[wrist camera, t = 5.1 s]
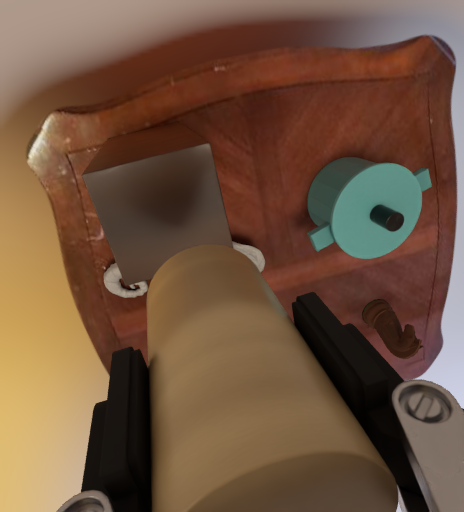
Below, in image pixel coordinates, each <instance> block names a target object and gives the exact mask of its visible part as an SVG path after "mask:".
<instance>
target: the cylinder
mask: <svg viewBox="0 0 464 512" xmlns="http://www.w3.org/2000/svg"><path fill="white" fill-rule="evenodd" d="M147 334H148V374H149V414H150V453H151V493H152V512H396V509H397V505H398V488H397V484H396V481H395V478H394V476H393V474H392V473H391V471H390V469H389V468H388V466H387V465H386V463H385V462H384V460H383V459H382V457H381V456H380V454H379V453H378V451H377V449H376V448H375V446H374V445H373V443H372V442H371V440H370V439H369V437H368V436H367V434H366V433H365V431H364V430H363V428H362V427H361V425H360V424H359V422H358V421H357V419H356V417H355V416H354V414H353V413H352V411H351V410H350V408H349V407H348V405H347V404H346V402H345V401H344V399H343V398H342V396H341V395H340V393H339V392H338V390H337V389H336V387H335V386H334V384H333V382H332V381H331V379H330V378H329V376H328V375H327V373H326V372H325V370H324V369H323V367H322V366H321V364H320V363H319V361H318V360H317V358H316V357H315V355H314V354H313V352H312V350H311V349H310V347H309V346H308V344H307V343H306V341H305V340H304V338H303V337H302V335H301V334H300V332H299V331H298V329H297V328H296V326H295V325H294V323H293V322H292V320H291V318H290V317H289V315H288V314H287V312H286V311H285V309H284V308H283V306H282V305H281V303H280V302H279V300H278V299H277V297H276V296H275V294H274V293H273V291H272V290H271V288H270V286H269V285H268V283H267V282H266V280H265V279H264V277H263V276H262V274H261V273H260V271H259V270H258V268H257V267H256V265H255V264H254V263H253V262H252V260H251V259H249V258H248V257H247V256H246V255H244V254H243V253H241V252H240V251H238V250H235V249H233V248H230V247H227V246H222V245H200V246H195V247H192V248H189V249H186V250H184V251H181V252H179V253H177V254H176V255H174V256H173V257H171V258H170V259H169V260H167V261H166V262H165V263H164V264H163V265H162V266H161V267H160V268H159V269H158V271H157V272H156V274H155V275H154V277H153V279H152V281H151V283H150V286H149V289H148V293H147Z"/></svg>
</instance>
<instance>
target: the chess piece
mask: <svg viewBox="0 0 464 512" xmlns="http://www.w3.org/2000/svg"><path fill="white" fill-rule="evenodd" d="M363 319H364V321H365V322H366V323H367V324H368V325H369V326H371V327H373V328H375V329H376V330H377V332H378V334H379V335H380V337H381V338H382V340H383V342H384V343H385V345H386V347H387V348H388V349H389V351H390V352H391V353H392V354H393V355H395V356H397V357H399V358H402V359H408V358H410V357H412V356H414V355H415V354H416V353H417V352H418V350H419V349H420V348H423V346H421V340H420V339H417V338H416V336H415V331H414V326H412V325H409V324H407V325H405V329H404V332H402V328H401V325H400V322H399V320H398V318H397V316H396V315H395V313H394V312H393V310H392V308H391V307H390V306H389V304H388V303H387V302H385V301H383V300H375V301H373V302H371V303H369V304H368V305H367V306H366V308H365V309H364V312H363Z"/></svg>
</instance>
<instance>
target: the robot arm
mask: <svg viewBox="0 0 464 512" xmlns="http://www.w3.org/2000/svg"><path fill="white" fill-rule="evenodd" d="M292 310H293V317H294V324H295V326H296V328H297V329H298V331H299V332H300V334H301V335H302V337H303V338H304V340H305V341H306V343H307V344H308V346H309V347H310V349H311V350H312V352H313V354H314V355H315V357H316V358H317V360H318V361H319V363H320V364H321V366H322V367H323V369H324V370H325V372H326V373H327V375H328V376H329V378H330V379H331V381H332V382H333V384H334V386H335V387H336V389H337V390H338V392H339V393H340V395H341V396H342V398H343V399H344V401H345V402H346V404H347V405H348V407H349V408H350V410H351V411H352V413H353V414H354V416H355V417H356V419H357V421H358V422H359V424H360V425H361V427H362V428H363V430H364V431H365V433H366V434H367V436H368V437H369V439H370V440H371V442H372V443H373V445H374V446H375V448H376V449H377V451H378V453H379V454H380V456H381V457H382V459H383V460H384V462H385V463H386V465H387V466H388V468H389V469H390V471H391V473H392V474H393V476H394V478H395V481H396V484H397V488H398V502H399V505H400V507H401V510H402V512H464V409H462V408H461V407H460V405H459V404H458V402H457V400H456V399H455V398H454V396H453V395H452V394H451V393H450V392H449V391H448V390H446V389H444V388H443V387H442V386H440V385H438V384H436V383H433V382H430V381H426V380H408V381H404V380H403V379H402V378H401V377H400V376H399V374H398V373H397V372H396V371H395V370H394V369H393V368H392V367H391V366H390V365H389V363H388V362H387V361H386V360H385V359H384V358H383V357H382V356H381V355H380V354H379V352H378V351H377V350H376V349H375V348H374V347H373V346H372V345H371V344H370V342H369V341H368V340H367V339H366V338H365V337H364V336H363V335H362V334H361V333H360V331H359V330H358V329H357V328H356V327H355V326H354V325H353V324H350V323H349V324H346V325H342V324H341V323H340V321H339V320H338V319H337V318H336V317H335V316H334V314H333V313H332V312H331V311H330V310H329V309H328V307H327V306H326V305H325V304H324V303H323V302H322V300H321V299H320V298H319V297H318V296H317V295H316V293H314V292H311V293H307V294H304V295H301V296H297V298H296V302H293V303H292ZM57 512H152V493H151V453H150V414H149V374H148V368H147V365H146V363H145V360H144V358H143V355H142V353H141V351H140V349H138V350H135V351H134V349H133V348H132V347H128V348H125V349H121V350H118V351H115V352H113V354H112V362H111V371H110V380H109V389H108V398H107V400H106V401H102V402H99V403H96V405H95V406H94V410H93V417H92V423H91V429H90V436H89V443H88V450H87V456H86V463H85V470H84V476H83V483H82V489H81V493H79V494H77V495H75V496H73V497H72V498H71V499H69V500H68V501H66V502H65V503H64V504H63V505H62V506H61V507H60V508H59V509H58V511H57Z"/></svg>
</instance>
